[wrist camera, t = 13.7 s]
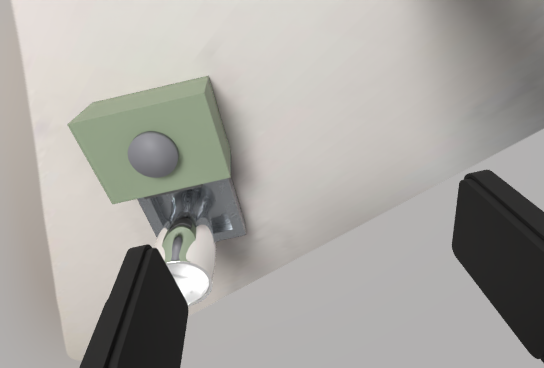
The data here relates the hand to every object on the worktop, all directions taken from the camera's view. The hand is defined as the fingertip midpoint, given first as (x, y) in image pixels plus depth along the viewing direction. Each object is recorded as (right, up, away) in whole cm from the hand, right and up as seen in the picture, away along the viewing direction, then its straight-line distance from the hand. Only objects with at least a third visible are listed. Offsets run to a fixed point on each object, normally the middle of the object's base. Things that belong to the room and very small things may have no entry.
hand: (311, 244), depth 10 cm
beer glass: (-12, -1, +36) cm, 38 cm away
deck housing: (-15, +9, +31) cm, 36 cm away
